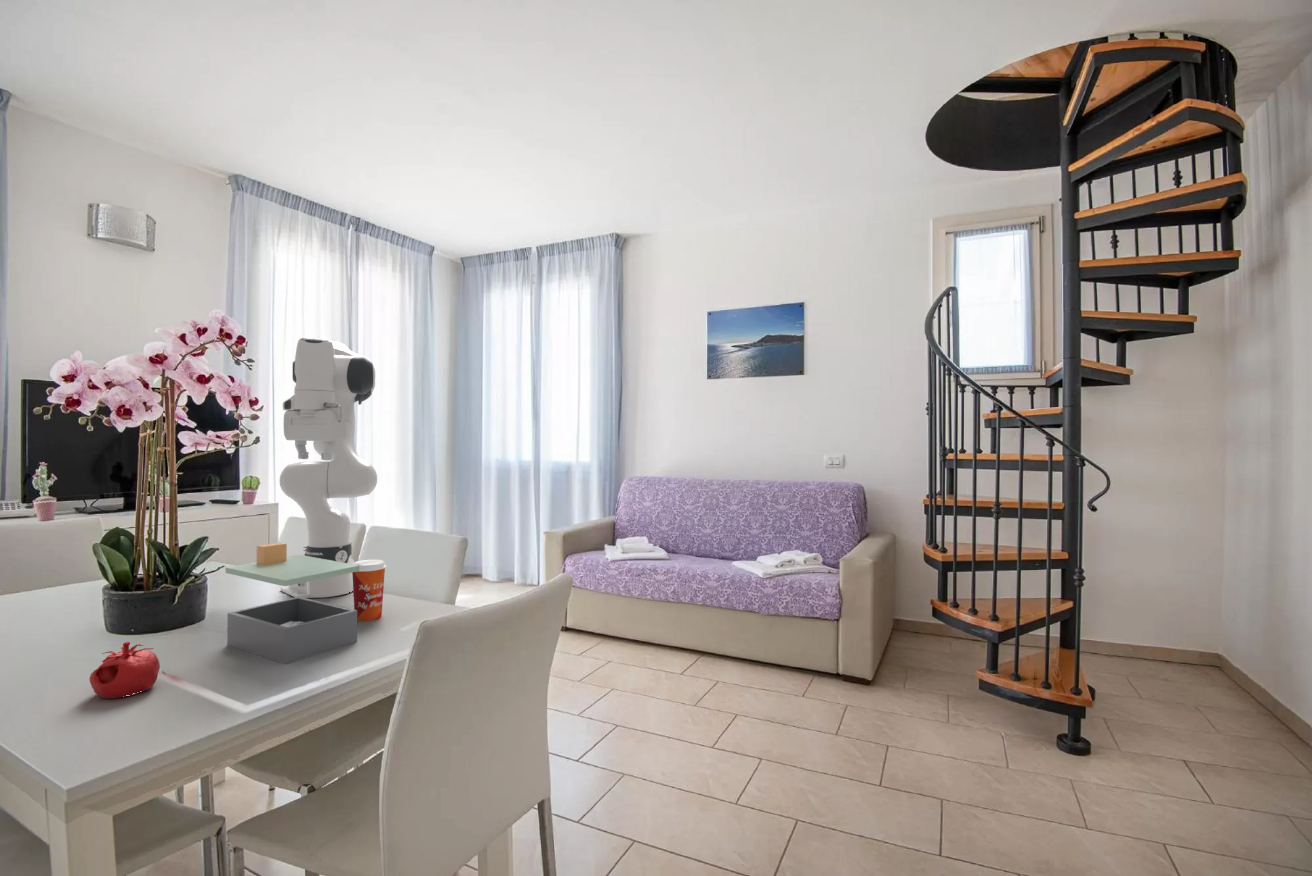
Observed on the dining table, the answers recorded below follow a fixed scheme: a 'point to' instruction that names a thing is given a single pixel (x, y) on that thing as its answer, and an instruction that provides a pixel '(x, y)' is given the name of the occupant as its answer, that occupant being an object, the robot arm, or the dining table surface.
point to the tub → (291, 629)
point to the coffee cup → (368, 589)
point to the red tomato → (125, 672)
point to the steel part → (291, 624)
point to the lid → (289, 567)
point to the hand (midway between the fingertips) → (314, 459)
